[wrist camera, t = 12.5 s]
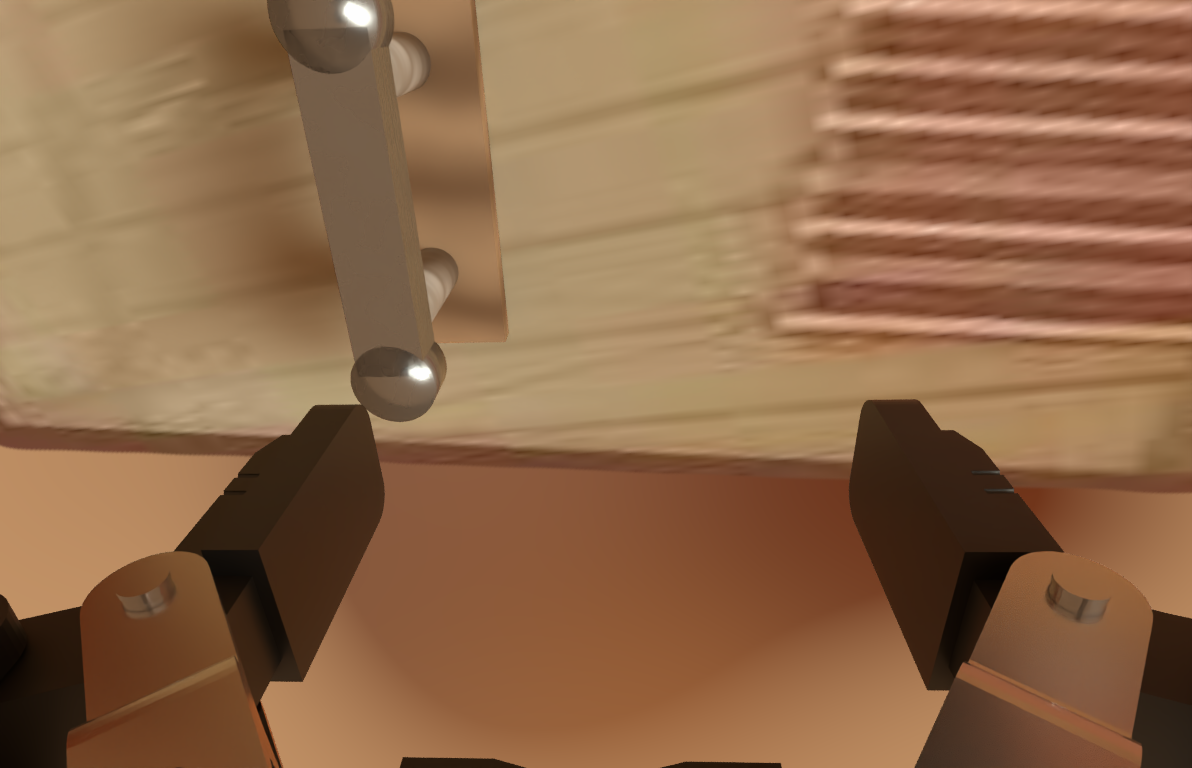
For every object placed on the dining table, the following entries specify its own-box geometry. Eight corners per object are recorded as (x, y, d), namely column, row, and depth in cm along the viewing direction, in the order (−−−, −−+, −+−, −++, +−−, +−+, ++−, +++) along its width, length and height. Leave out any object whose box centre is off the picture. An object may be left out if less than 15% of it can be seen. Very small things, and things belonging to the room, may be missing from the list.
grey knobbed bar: (282, -43, 30) (254, -47, 28) (385, -48, 30) (365, -52, 28) (374, 398, 40) (359, 422, 38) (451, 398, 40) (441, 421, 38)
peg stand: (323, -39, 38) (237, -51, 30) (470, -46, 38) (425, -60, 30) (392, 334, 49) (343, 403, 40) (508, 332, 48) (483, 401, 40)
